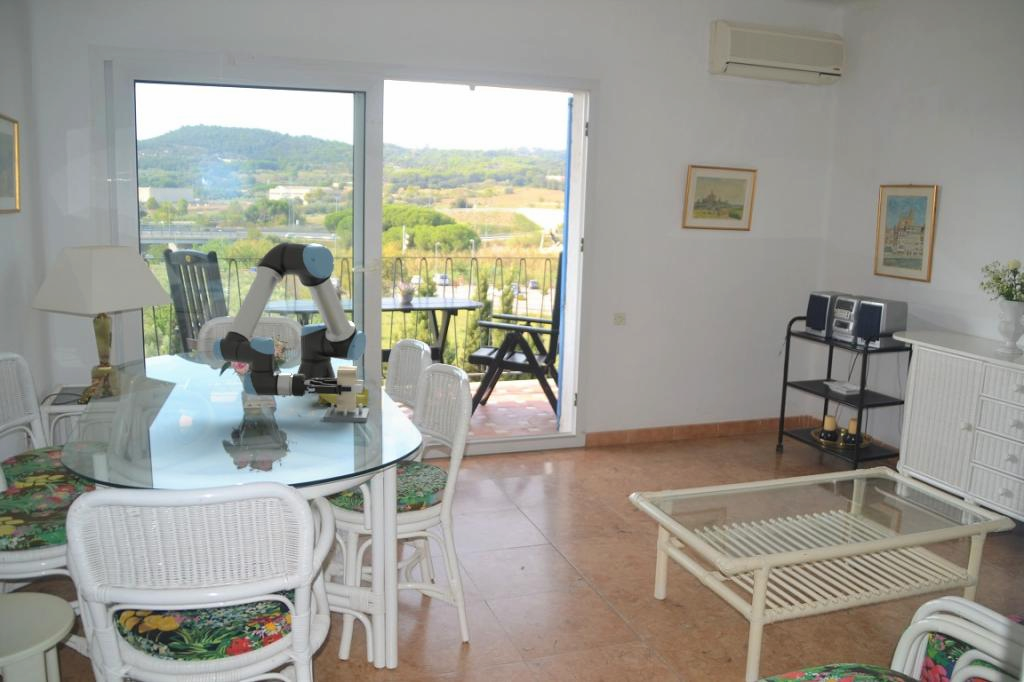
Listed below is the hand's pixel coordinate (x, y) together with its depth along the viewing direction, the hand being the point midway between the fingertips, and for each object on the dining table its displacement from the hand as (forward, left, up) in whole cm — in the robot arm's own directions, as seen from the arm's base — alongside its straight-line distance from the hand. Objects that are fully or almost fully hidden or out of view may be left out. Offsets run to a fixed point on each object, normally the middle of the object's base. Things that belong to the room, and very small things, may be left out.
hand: (362, 386), depth 276 cm
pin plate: (0, -5, -11) cm, 12 cm away
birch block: (0, -5, -8) cm, 9 cm away
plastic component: (-19, -9, -11) cm, 24 cm away
